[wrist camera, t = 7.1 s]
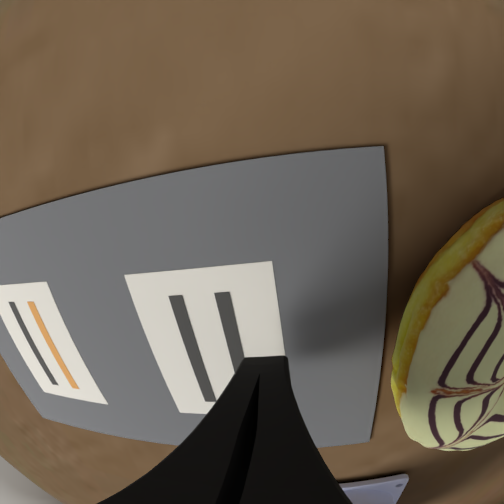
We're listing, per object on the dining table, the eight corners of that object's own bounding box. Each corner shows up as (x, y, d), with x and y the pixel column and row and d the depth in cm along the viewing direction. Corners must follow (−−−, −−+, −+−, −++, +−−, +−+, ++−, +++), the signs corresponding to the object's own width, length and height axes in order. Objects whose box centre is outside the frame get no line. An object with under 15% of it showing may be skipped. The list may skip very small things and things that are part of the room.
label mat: (368, 440, 13) (369, 442, 13) (43, 416, 16) (42, 417, 16) (382, 145, 8) (384, 146, 8) (-50, 236, 11) (-51, 237, 11)
